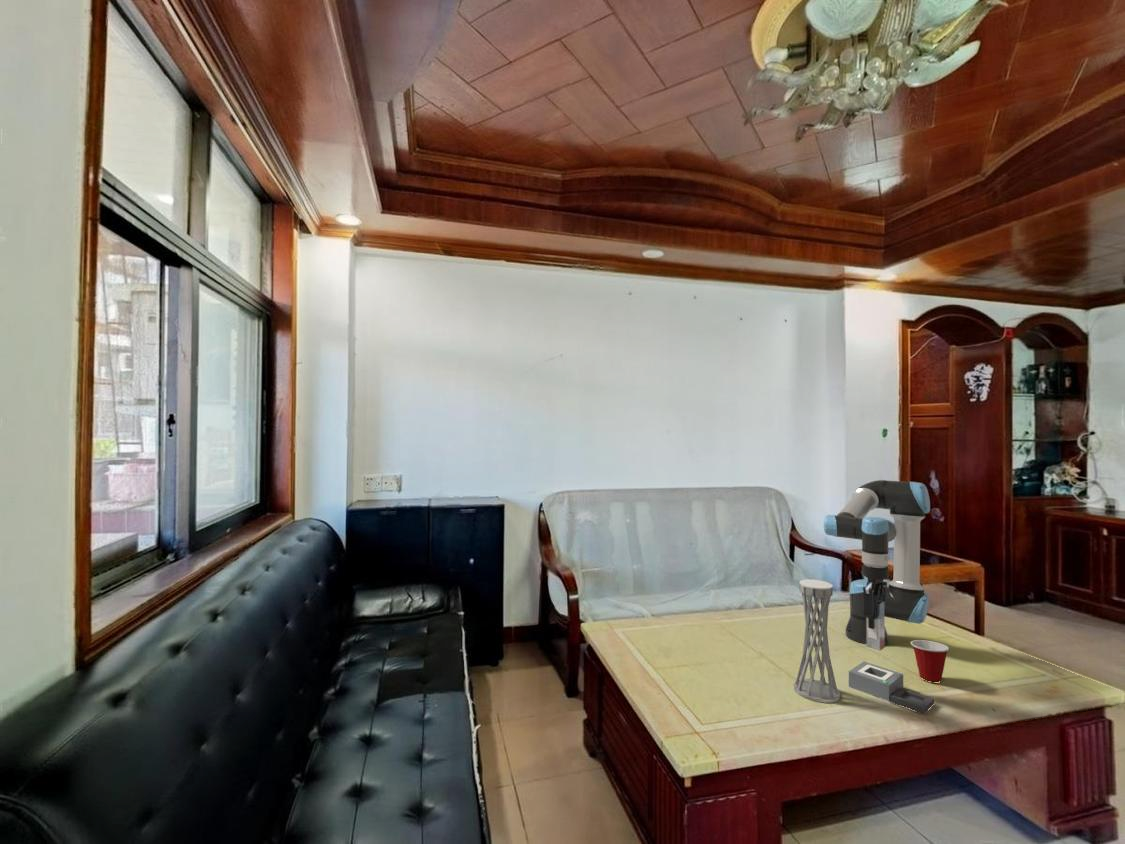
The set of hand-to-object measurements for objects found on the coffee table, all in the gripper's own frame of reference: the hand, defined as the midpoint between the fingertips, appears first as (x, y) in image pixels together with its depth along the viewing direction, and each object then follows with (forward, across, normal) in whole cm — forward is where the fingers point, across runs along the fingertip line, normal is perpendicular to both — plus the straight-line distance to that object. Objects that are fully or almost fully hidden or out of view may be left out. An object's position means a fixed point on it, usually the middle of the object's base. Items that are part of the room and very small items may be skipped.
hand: (875, 636), depth 171 cm
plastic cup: (+17, +21, -9) cm, 29 cm away
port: (+17, 0, 0) cm, 17 cm away
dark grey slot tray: (+17, -2, -11) cm, 20 cm away
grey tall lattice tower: (+17, -18, +11) cm, 27 cm away
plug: (+4, 0, 0) cm, 4 cm away
